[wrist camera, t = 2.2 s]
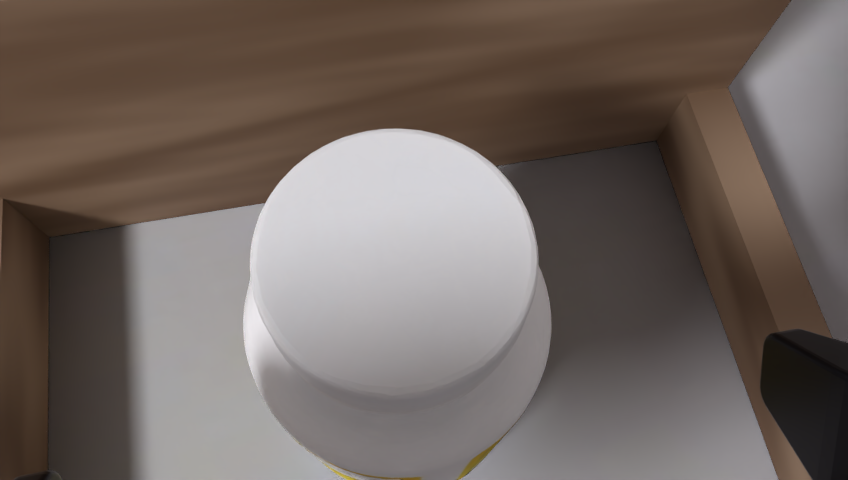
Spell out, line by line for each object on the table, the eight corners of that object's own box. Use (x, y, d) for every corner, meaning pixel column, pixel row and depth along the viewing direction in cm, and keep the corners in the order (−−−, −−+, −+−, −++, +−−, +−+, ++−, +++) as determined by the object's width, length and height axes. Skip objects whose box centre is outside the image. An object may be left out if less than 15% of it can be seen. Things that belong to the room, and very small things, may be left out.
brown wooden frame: (893, 654, 17) (1386, 778, 8) (-15, 871, 15) (-569, 1321, 6) (680, 102, 22) (845, -155, 14) (6, 206, 20) (-270, -20, 12)
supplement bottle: (469, 269, 20) (523, 52, 11) (531, 463, 18) (661, 394, 9) (279, 318, 19) (168, 129, 10) (323, 525, 17) (234, 518, 8)
